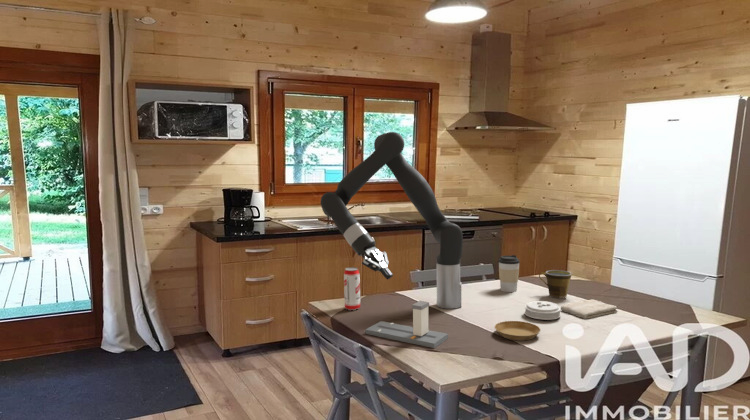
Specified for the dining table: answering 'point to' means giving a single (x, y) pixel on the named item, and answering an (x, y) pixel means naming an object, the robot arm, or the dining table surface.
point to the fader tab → (420, 318)
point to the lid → (542, 310)
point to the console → (406, 334)
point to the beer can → (352, 288)
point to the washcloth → (588, 308)
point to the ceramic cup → (557, 283)
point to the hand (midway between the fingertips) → (390, 277)
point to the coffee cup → (508, 273)
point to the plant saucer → (517, 330)
